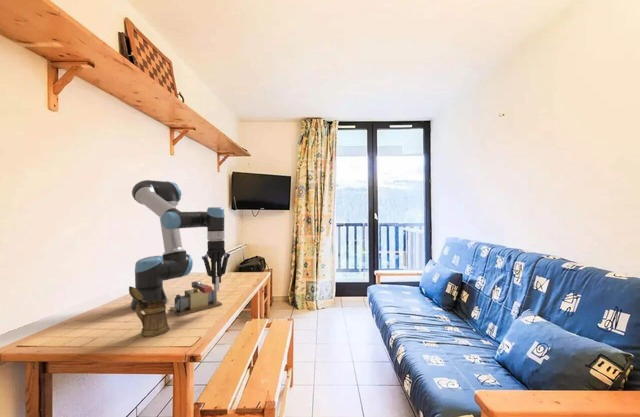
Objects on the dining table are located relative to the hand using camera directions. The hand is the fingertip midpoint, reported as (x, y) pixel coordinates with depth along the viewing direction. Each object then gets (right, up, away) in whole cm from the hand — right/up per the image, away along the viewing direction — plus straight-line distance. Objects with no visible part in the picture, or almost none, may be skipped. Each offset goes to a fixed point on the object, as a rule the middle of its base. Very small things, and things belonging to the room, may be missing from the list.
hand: (216, 290), depth 129 cm
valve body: (-11, -9, +3) cm, 15 cm away
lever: (-7, +1, -1) cm, 7 cm away
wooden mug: (-17, -9, -24) cm, 30 cm away
